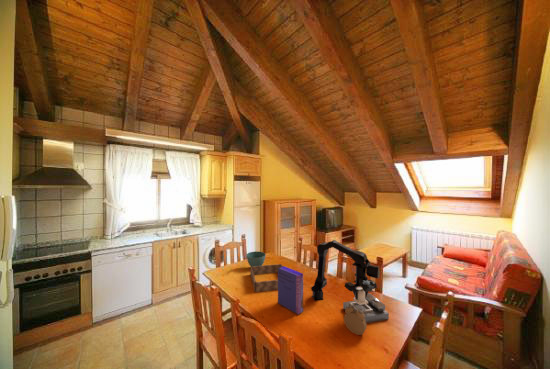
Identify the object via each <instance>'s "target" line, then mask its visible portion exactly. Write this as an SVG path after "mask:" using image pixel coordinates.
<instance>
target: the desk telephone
mask: <svg viewBox="0 0 550 369" xmlns="http://www.w3.org/2000/svg"><path fill="white" fill-rule="evenodd" d="M365 299H366V300H367V301H368V304H362V305H359V304H358V303H357V302H356V301H355V300H351V301H349V300H348V301H344V302H343V304H342V308H343V310H344V311H345V309H346V308H347V306H348V307H349V306H350V305H355V306H357V307H358V308H359V309H360V311H362V312H363V313H364V315H365V318H364V319H365V321H366V324H371V323H377V322H382V321H387V320H389V318H390V317H389V312H388V311H387V310H386V304H385V303H383V302H382V301H381V300H380V299H378V298H377V297H376V296H374V295H373V294H372V293H371V292H368V294H367V296H366V298H365ZM350 307H352V308H353V309H354V310H355V311H358V309H357V308H355V307H353V306H350Z"/></svg>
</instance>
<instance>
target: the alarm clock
mask: <svg viewBox="0 0 550 369" xmlns="http://www.w3.org/2000/svg"><path fill="white" fill-rule="evenodd" d="M350 306H353V307H355V308H357V309H358V311H355V310H354V309H353V308H352V307H350ZM350 306H349V307H348V306H347V308H346V309H345V310H344V312H345V314H344V316H343V322H344V325H345V326H346V328H347V329H348V330H349V331H350V332H351V333H353V334H355V335H357V336H363V334H364V333H365V331H366V329H367V328H368V327H367V326H368V325H367V324H368V323H366V321H365V319H364V318H365V315H364V313H363V312H362V311H360V309H359V308H358V307H357V306H355V305H350Z"/></svg>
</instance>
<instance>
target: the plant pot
mask: <svg viewBox="0 0 550 369" xmlns="http://www.w3.org/2000/svg"><path fill="white" fill-rule="evenodd" d="M266 254H267V253H265V252H263V251H257V250H256V251H250V252H248V253H246V260H247V263H248V265H249V266H250V267H253V266H264V263H265V261H266V256H267V255H266Z"/></svg>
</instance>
